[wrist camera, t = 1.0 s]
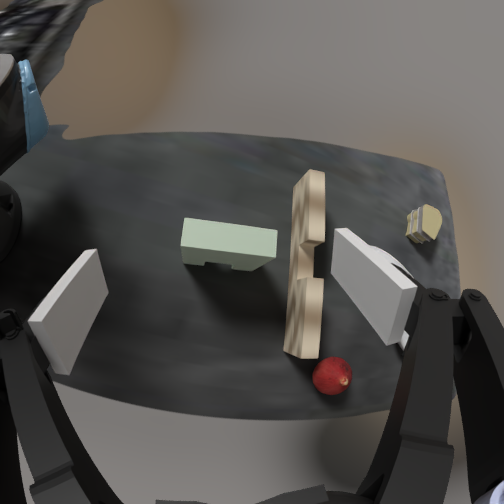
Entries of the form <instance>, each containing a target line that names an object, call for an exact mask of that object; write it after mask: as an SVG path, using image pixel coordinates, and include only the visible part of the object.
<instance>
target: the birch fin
mask: <svg viewBox="0 0 504 504" xmlns="http://www.w3.org/2000/svg"><path fill="white" fill-rule="evenodd" d="M323 242H325V173H324V172H320V171H315V170H311V169H309V170H308V172H307V173H306V174H305V175H304V176H303V177H302V178H301V179H300V181H299V182H298V183H297V184H296V185H295V186H294V187H293V208H292V232H291V252H290V270H289V287H288V301H287V315H286V328H285V340H284V351H285V352H287V353H289V354H291V355H294V356H296V357H298V358H301V359H314V358H318V354H319V343H320V331H321V317H322V302H323V282H324V279H321V278H313V265H314V247H315V246H317V245H319V244H321V243H323Z"/></svg>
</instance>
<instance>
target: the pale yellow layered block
mask: <svg viewBox="0 0 504 504" xmlns="http://www.w3.org/2000/svg"><path fill="white" fill-rule="evenodd" d="M407 219H408V222H409V223H408V228H407V232H406V236H407V237H409V238H410V239H411V240H412V241H414V242H415V243H419V242H420V243H421V244H423V243H424V241H425V240H427V241H431V238H433V239H434V240H435V238H436V236H437V233H438V231H439V229H440V227H441V224H442V217H441V214H440V212H439V210H438V209H436V208H434V207H432V206H430V205H427V204H425V205H424V206H421V207H419V209H418V210H416V209H415V210H413V211H412V213H411V214H409V215H408V217H407Z"/></svg>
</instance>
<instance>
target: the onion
mask: <svg viewBox="0 0 504 504" xmlns="http://www.w3.org/2000/svg"><path fill="white" fill-rule="evenodd" d="M351 380H352V370H351V368H350V366H349V364H348V363H347V362H346V361H344V360H343V359H342V358H338V357H329V358H326V359H324V360H322V361H321V362H319V363H318V365H317V366H316V367H315V369H314V372H313V384H314V385H315V387H316V388H317V389H318V390H319V391H320V392H322V393H323V394H328V395H335V394H339V393H341V392H343V391H344V390H346V389H347V387H348V386H349V385H350V383H351Z"/></svg>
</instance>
